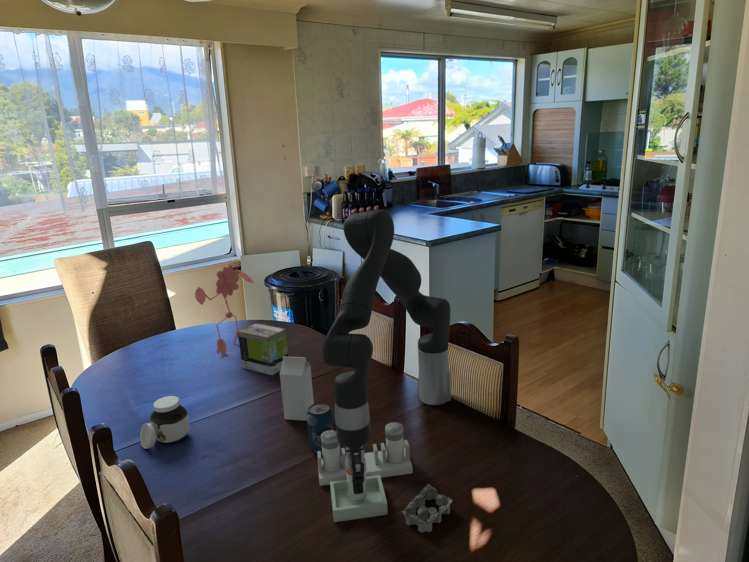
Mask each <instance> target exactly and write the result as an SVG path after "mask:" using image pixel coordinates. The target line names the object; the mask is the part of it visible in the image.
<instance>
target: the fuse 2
mask: <svg viewBox="0 0 749 562" xmlns="http://www.w3.org/2000/svg"><path fill="white" fill-rule="evenodd" d="M384 433H385V434H384V436H385V449H386V452H387V461H388V462H389V463H391V464H399V463H402V462H403V461H404V440H405V439H404V437H405V435H404V434H405V433H404V425H403V424H402V423H400V422H397V421H396V422H395V421H394V422H388V423H387V424H385V427H384Z"/></svg>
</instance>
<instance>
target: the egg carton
mask: <svg viewBox="0 0 749 562" xmlns="http://www.w3.org/2000/svg"><path fill="white" fill-rule="evenodd" d="M426 500H427V501H432V500H434V501H435V504H436V505H437V506H439V507H438V509H437V507H434V506H433V507H432V506H430V507H426ZM452 503H453V499H451V498H450V497H449V496H448V497H447V496H446V495H445V494H444V493H442V494H439V491H438V490H437V489H436V488H435V487H433V486H432V485H431V484H430V483H428V484H427V485H425V486H424V487H423V488H422V489H421V490H420V492H419V494H417V495H416V496H415V497H414V498H413V499H412V500H411V501H409V503H408V504H406V507H405V508H404V510H402V511H400V512H401V513H402V514H403V516H405V517H404V519H405V524H406V525H407V526H411V525H416V526H417V531H418V532H420V533H425V532H428V533H431V532H432V530H433V523H436V524H440V523H441V522H442V515H449V514H450V513H451V504H452ZM438 510H439V511H438Z"/></svg>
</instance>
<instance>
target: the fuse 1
mask: <svg viewBox="0 0 749 562" xmlns="http://www.w3.org/2000/svg"><path fill="white" fill-rule="evenodd" d="M321 446H322V454H321V456H322V459H323V468H324V470H325V471H326V472H330V473H333V472H337V471H339V470H340V469H341V456H342V455H341V444H340V443H339V442H338V440H337V434H336V430H335V429H334V430H328V431H325V432H323V433H322V434H321Z"/></svg>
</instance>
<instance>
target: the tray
mask: <svg viewBox="0 0 749 562" xmlns="http://www.w3.org/2000/svg"><path fill="white" fill-rule="evenodd" d="M366 482H367V497H366V498H365V499H363V500H360V501H353V500H351V499H350V498H349V497H348V488H347V480H340V481H332V482H330V485H329V486H330V487H329V488H330V495H331V496H330V497H331V505H332V506H331V507H332V508H331V509H332V516H333V523H337V522H345V521H351V520H352V521H353V520H359V519H360V520H361V519H364V518H372V517H378V516H386V515H389V513H388V510H389V509H388V502H387V497H386V494H385V493H386V492H385V488H384V486H383V485H384V484H383V482H382V478H381V476H380V475H377V476H369V477H366Z"/></svg>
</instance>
